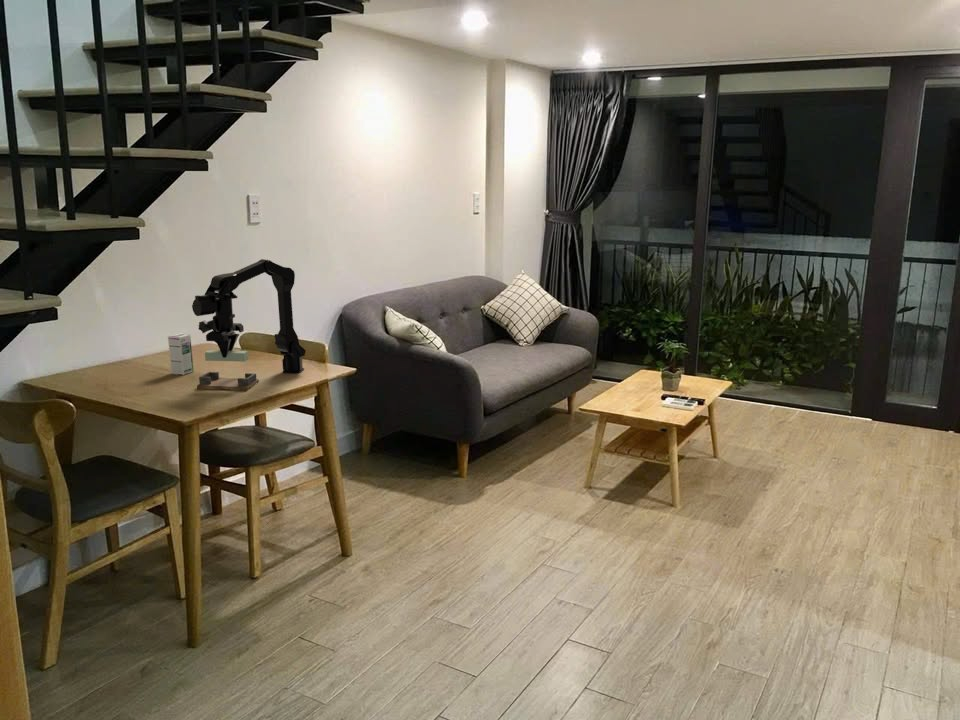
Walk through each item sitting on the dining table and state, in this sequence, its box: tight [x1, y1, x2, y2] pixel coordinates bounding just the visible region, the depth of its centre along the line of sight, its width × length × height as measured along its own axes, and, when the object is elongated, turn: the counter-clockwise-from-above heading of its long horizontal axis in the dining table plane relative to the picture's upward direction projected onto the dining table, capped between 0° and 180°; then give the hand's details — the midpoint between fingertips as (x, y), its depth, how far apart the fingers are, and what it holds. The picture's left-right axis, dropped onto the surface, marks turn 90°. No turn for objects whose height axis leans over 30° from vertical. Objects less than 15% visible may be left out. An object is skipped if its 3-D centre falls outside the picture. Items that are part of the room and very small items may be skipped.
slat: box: [204, 349, 249, 363], centre depth 281 cm, size 14×4×3 cm, turn 86°
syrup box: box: [167, 332, 194, 376], centre depth 299 cm, size 6×6×14 cm
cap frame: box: [196, 371, 260, 391], centre depth 283 cm, size 18×11×4 cm, turn 85°
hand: (226, 356), depth 281 cm, fingers closed on slat, 3 cm apart
